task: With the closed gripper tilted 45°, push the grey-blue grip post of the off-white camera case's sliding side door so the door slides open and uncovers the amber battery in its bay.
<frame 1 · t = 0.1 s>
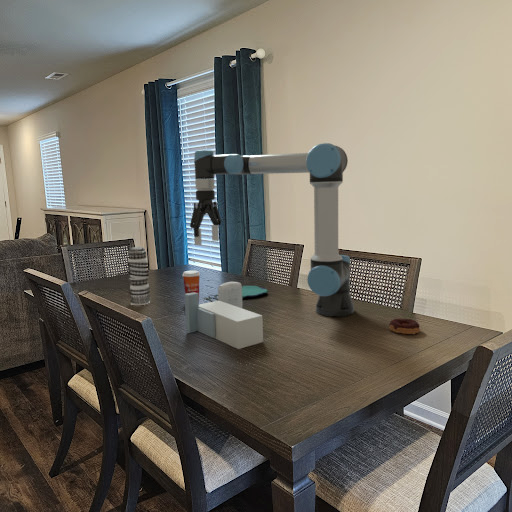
hand: (207, 242, 185), 28 cm above the table, tool pointing down, fingers open, 13 cm apart
decorative candle: (140, 304, 202), on the table
donut: (404, 332, 158), on the table
side door: (199, 315, 156), point 7 cm above the table, slide at 0.0 cm
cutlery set: (236, 297, 213), on the table
camera case: (228, 335, 157), on the table
paper cup: (192, 303, 201), on the table
grey gravestone: (230, 312, 186), on the table
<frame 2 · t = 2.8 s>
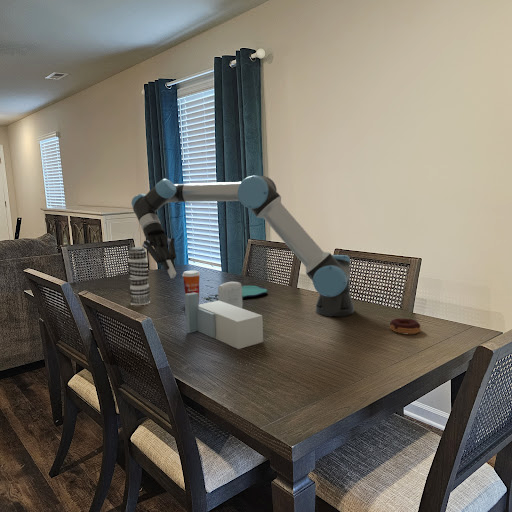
hand: (173, 275, 169), 18 cm above the table, tool tilted 45°, fingers closed
nothing on the table moved.
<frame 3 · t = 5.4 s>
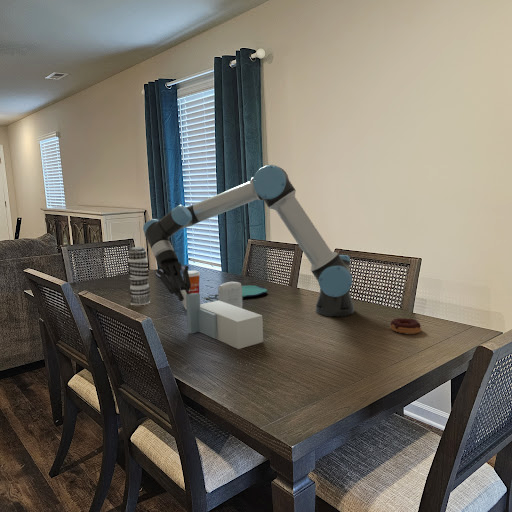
hand: (188, 307, 161), 9 cm above the table, tool tilted 45°, fingers closed
side door: (201, 315, 155), point 7 cm above the table, slide at 1.0 cm, touching gripper
everything else where it was.
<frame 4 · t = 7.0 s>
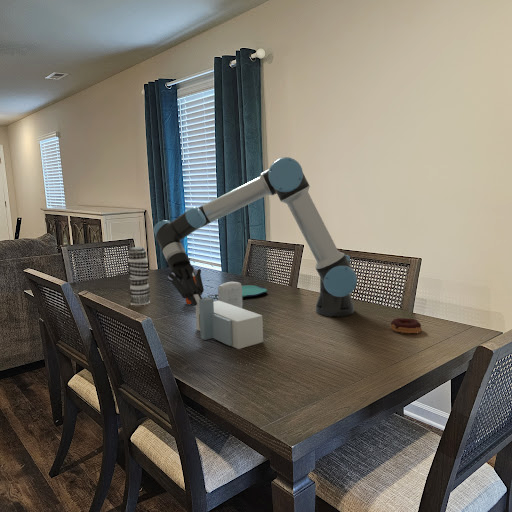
hand: (202, 312, 154), 9 cm above the table, tool tilted 45°, fingers closed
side door: (215, 321, 148), point 7 cm above the table, slide at 9.9 cm, touching gripper
everything else where it was.
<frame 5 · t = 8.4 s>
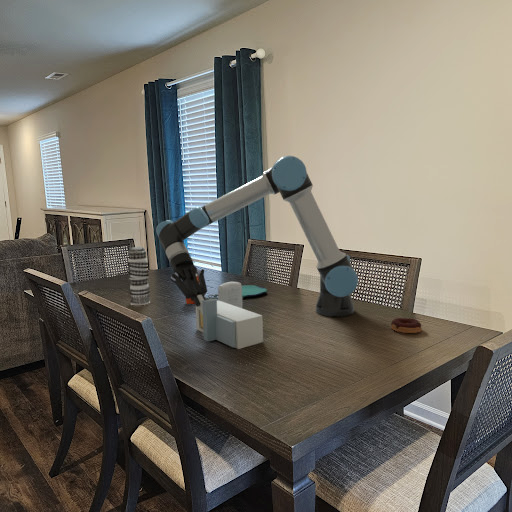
hand: (205, 312, 153), 9 cm above the table, tool tilted 45°, fingers closed
side door: (218, 323, 147), point 7 cm above the table, slide at 11.9 cm
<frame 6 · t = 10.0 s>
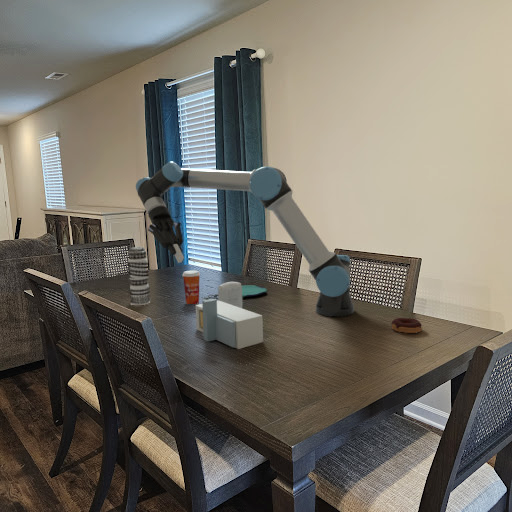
hand: (181, 260, 162), 25 cm above the table, tool tilted 45°, fingers closed
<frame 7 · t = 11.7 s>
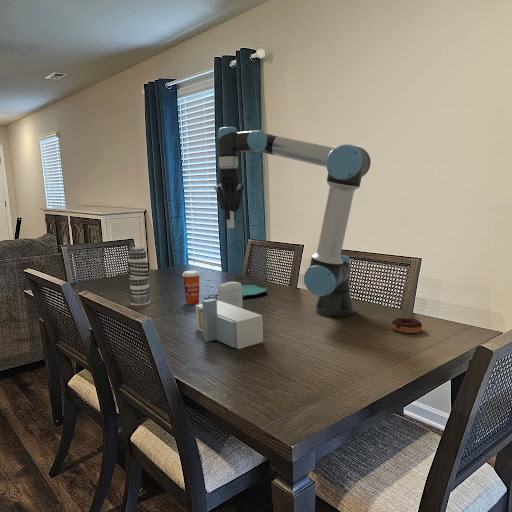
hand: (230, 227, 183), 34 cm above the table, tool pointing down, fingers closed
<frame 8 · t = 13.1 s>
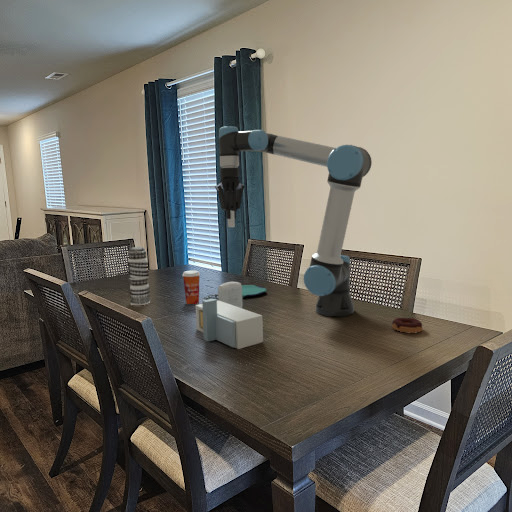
hand: (231, 226, 183), 34 cm above the table, tool pointing down, fingers closed
at the end: side door slide at 11.9 cm; grey gravestone moved 0.3 cm from its start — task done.
